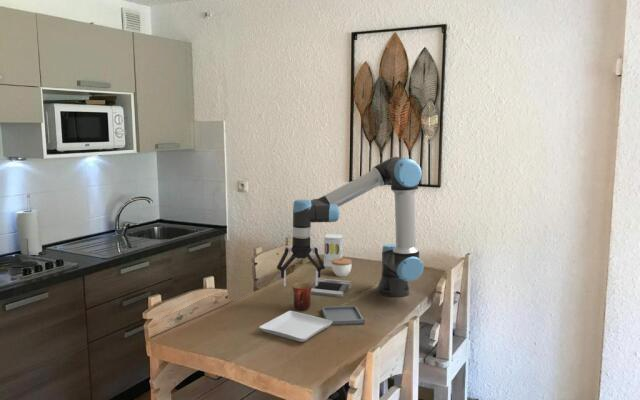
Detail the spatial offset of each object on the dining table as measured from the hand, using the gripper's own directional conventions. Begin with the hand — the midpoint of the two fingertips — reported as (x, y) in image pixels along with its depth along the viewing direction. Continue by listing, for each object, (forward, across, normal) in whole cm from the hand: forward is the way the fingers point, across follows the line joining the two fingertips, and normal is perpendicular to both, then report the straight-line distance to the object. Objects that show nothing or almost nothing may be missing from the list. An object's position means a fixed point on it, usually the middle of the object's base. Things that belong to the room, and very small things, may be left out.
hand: (300, 285), depth 234 cm
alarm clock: (+11, -16, -25) cm, 32 cm away
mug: (+11, 0, 0) cm, 11 cm away
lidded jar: (+11, -27, -50) cm, 58 cm away
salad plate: (+12, +4, +23) cm, 26 cm away
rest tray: (+11, -16, +11) cm, 22 cm away
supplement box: (+11, -26, -70) cm, 75 cm away
